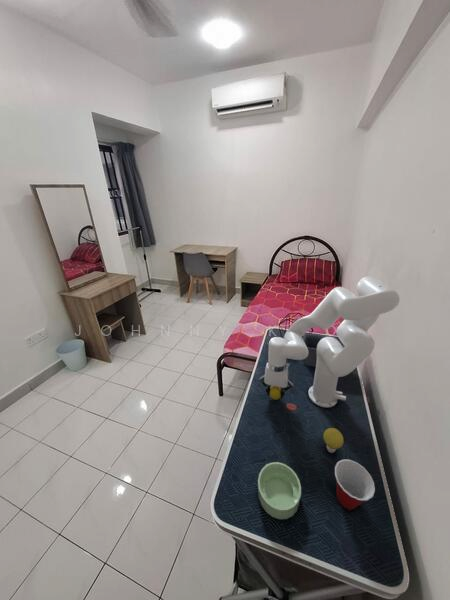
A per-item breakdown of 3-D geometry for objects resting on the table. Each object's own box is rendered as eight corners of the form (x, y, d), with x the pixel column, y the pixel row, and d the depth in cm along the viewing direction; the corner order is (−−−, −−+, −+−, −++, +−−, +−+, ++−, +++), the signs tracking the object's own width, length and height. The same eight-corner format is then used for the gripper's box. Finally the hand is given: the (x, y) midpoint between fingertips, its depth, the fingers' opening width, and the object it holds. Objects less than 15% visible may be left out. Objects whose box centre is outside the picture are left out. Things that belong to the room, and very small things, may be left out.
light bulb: (331, 462, 86) (335, 445, 81) (317, 446, 91) (320, 429, 86) (344, 453, 88) (349, 435, 84) (329, 437, 94) (333, 420, 89)
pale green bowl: (300, 479, 81) (301, 468, 79) (298, 527, 70) (300, 517, 68) (261, 467, 85) (262, 457, 83) (254, 511, 74) (254, 501, 72)
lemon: (267, 394, 114) (268, 382, 110) (279, 393, 114) (279, 380, 111) (270, 404, 109) (271, 391, 105) (282, 402, 109) (283, 390, 106)
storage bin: (298, 367, 129) (301, 345, 123) (302, 350, 142) (304, 329, 135) (342, 377, 121) (347, 354, 115) (342, 358, 134) (346, 337, 127)
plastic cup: (371, 524, 70) (381, 503, 65) (332, 516, 72) (338, 495, 67) (360, 483, 79) (368, 461, 74) (326, 476, 82) (331, 455, 76)
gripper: (298, 361, 103) (294, 392, 111) (258, 355, 108) (258, 384, 116) (297, 374, 97) (293, 405, 105) (255, 366, 102) (255, 396, 110)
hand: (275, 394), depth 110 cm, fingers closed on lemon, 5 cm apart
